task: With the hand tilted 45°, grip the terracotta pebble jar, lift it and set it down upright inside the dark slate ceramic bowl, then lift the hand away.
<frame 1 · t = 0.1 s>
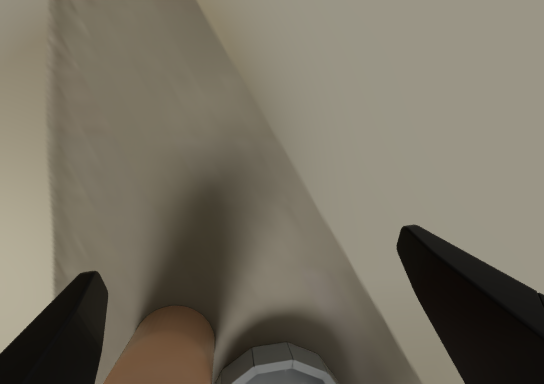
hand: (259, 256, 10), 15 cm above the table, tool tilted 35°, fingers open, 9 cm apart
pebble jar: (174, 345, 24), on the table
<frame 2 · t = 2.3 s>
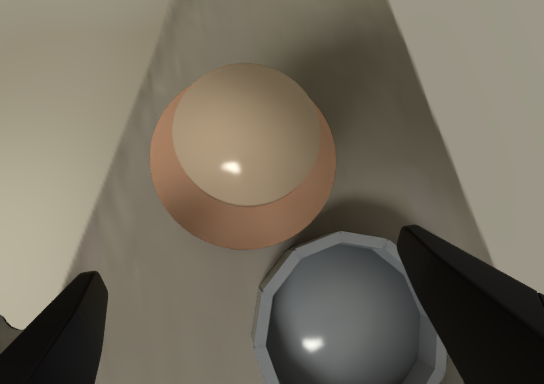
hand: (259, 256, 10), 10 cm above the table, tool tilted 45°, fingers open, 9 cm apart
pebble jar: (241, 201, 20), on the table
slate bowl: (339, 322, 20), on the table
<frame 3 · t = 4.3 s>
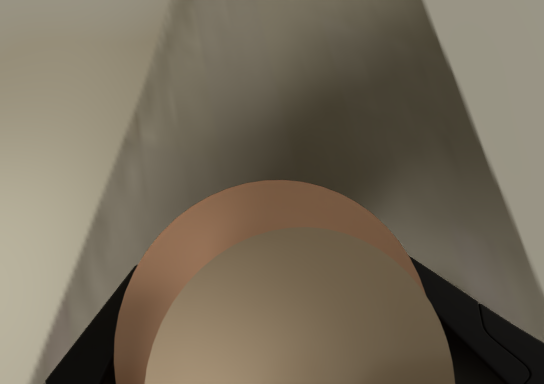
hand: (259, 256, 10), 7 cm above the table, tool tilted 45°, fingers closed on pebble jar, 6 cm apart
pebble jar: (254, 282, 16), on the table, touching gripper
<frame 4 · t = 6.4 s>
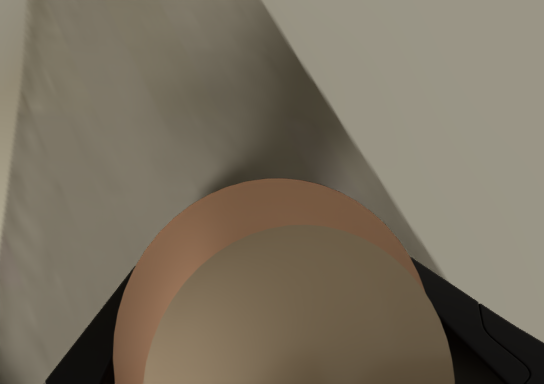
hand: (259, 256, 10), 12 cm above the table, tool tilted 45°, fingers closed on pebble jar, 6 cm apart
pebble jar: (253, 281, 16), point 6 cm above the table, touching gripper
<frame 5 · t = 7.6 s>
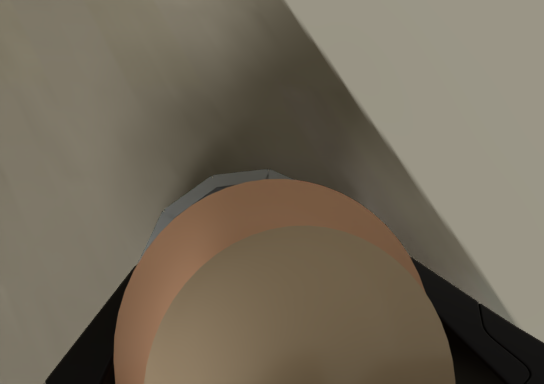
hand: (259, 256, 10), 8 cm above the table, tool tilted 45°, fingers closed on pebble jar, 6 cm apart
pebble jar: (253, 281, 16), point 2 cm above the table, touching gripper
slate bowl: (252, 275, 17), on the table
when the fingers open (8 cm above the table, at t = 8.3 s): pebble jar stays where it is, resting on slate bowl.
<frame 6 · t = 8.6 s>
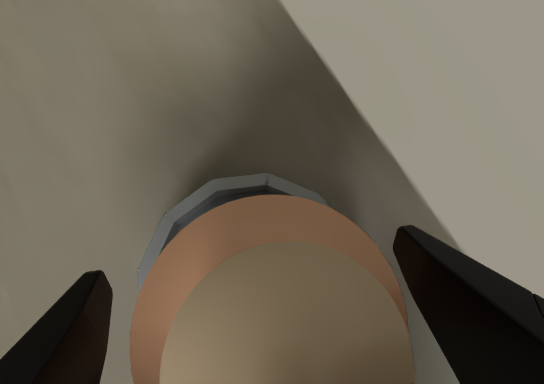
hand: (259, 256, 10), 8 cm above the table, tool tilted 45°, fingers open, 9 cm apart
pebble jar: (253, 282, 17), point 1 cm above the table, touching slate bowl
slate bowl: (252, 278, 18), on the table
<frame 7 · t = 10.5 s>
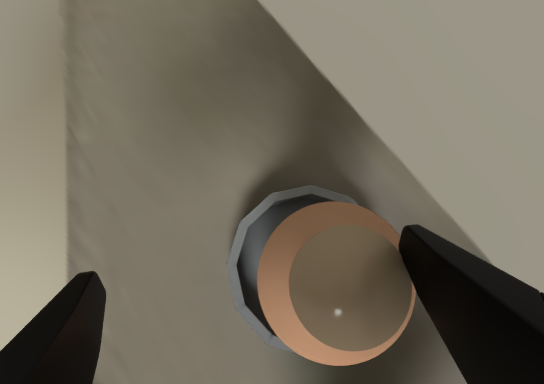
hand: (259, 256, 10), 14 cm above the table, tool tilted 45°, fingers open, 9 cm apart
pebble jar: (307, 267, 22), point 1 cm above the table, touching gripper, slate bowl
slate bowl: (304, 265, 23), on the table
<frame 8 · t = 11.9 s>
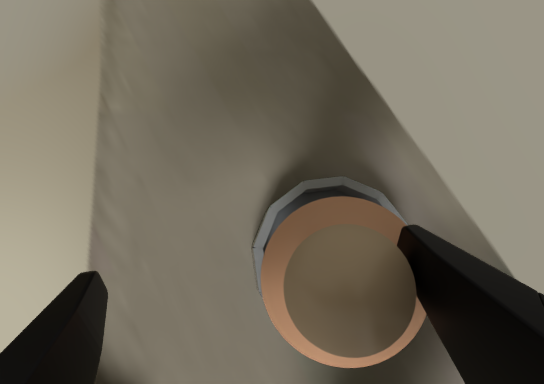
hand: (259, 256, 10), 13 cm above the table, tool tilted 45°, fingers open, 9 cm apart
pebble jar: (332, 259, 21), point 2 cm above the table, tilted 15°, touching gripper, slate bowl
slate bowl: (326, 256, 23), on the table
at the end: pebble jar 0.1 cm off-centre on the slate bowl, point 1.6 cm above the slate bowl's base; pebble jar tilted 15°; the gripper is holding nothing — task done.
